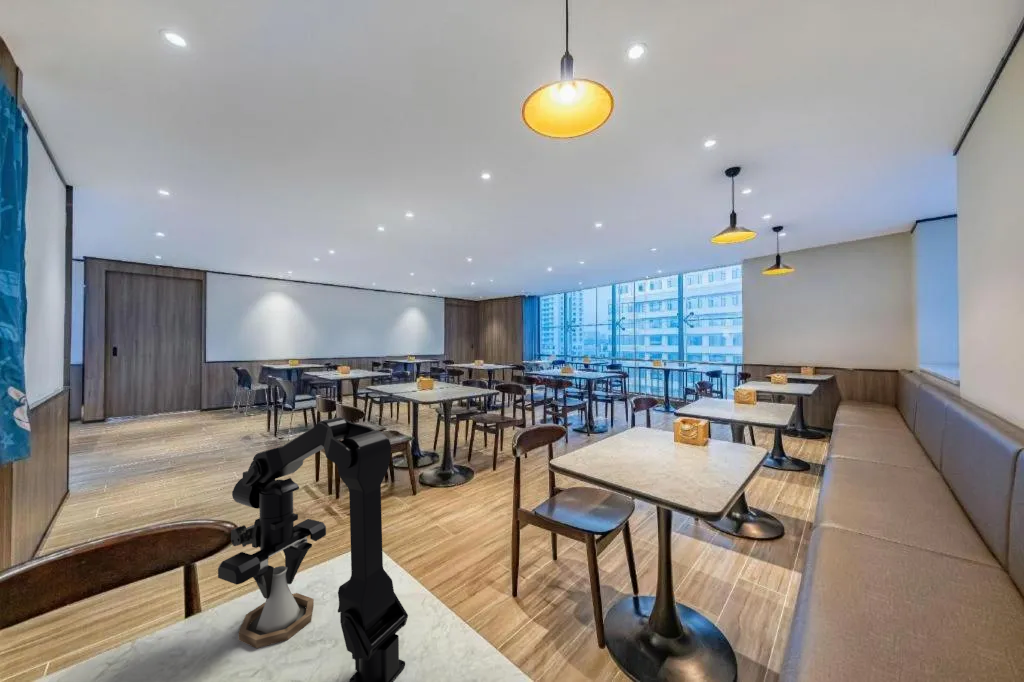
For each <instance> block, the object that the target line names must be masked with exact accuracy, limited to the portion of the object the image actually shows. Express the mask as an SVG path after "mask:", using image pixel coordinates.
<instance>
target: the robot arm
mask: <svg viewBox="0 0 1024 682" xmlns="http://www.w3.org/2000/svg"><path fill="white" fill-rule="evenodd" d="M322 450H324V454H325V457H326V459H328V460H329V461H331V462H332V463H334V464H335V465H336V466H337V472H338V473H337V474H338V477H339V478H340V479H341V480H342V482H343V483H344V484H345V486H346V487H347V488H348V491H349V524H350V525H349V529H350V530H349V531H350V566H351V567H350V568H351V571H350V572H351V573H350V575H351V576H350V578H349V580H347V581H345V582H344V583H342V584H341V585H340V586H339V587H338V591H337V594H338V595H337V596H338V609H337V613H339V615H340V617H339V618H340V621H339V622H340V627H341V630H342V634H343V639H344V643H345V647H346V651H347V652H349V653H351V659H352V660H354V661H355V662H354V666H355V673H354V674H353V675H352V676H351V677H350V678H349V679H348V680H349V682H394V680H395V679H396V678H397V677H398V676H399V674H400V673H401V671H402V670H403V669H404V668H405V667H406V661H405V660H402V659H400V652H399V651H400V650H399V649H400V648H399V644H400V643H399V642H400V641H399V639H400V637H399V634H396V633H398V632H399V631H400V629H402V628H403V627H405V626H406V625H407V621H408V617H409V615H408V613H407V611H406V609H405V608H404V606H403V604H402V603H401V601H400V600H399V598H398V597H397V596H398V595H397V594H396V593H395V590H394V583H393V579H392V578H391V576H390V575H389V574H388V573H387V571H386V570H385V569H384V561H383V559H384V558H383V557H384V555H383V525H382V524H383V522H382V518H383V517H382V493H381V492H382V483H383V481H384V479H385V476H386V474H387V472H388V470H389V468H390V463H391V462H390V461H391V452H392V445H391V441H390V438H388V437H387V436H386V434H385V433H384V432H382V431H381V430H380V431H379V430H375V429H374V428H373V427H371V426H367V425H363V424H360V423H354V422H352V421H350V420H349V419H347V418H344V417H339V416H338V417H334V418H329V419H326V420H321V421H318V423H315V425H314V426H313V427H312V428H310V429H308V430H307V431H305V432H303V433H301V434H300V435H299V436H297V437H295V438H293V439H292V440H290V441H289V442H286V443H285V444H284V445H282V446H279V447H274V448H271V449H268V450H263V451H260V452H257V453H256V454H254V456H253V458H252V460H251V463H250V464H249V465H250V466H249V467H248V469H247V470H246V471H243V472H242V478H241V479H239V480H238V481H237V482H236V484H235V485H234V487H233V489H232V492H231V495H232V496H231V497H232V499H233V501H235V502H236V503H237V504H240V505H243V506H247V507H250V508H253V509H259V518H257V519H254V520H255V521H254V522H253V523H254V524H252V525H250V526H248V527H247V526H246V525H242V526H238V527H235V528H233V529H231V531H230V541H231V544H232V546H233V547H236V546H242V548H245V547H246V546H247V545H251V547H252V548H254V549H257V548H259V550H258V551H256V552H253V553H252V554H250V553H246V552H243V551H241V552H239V553H236V554H235V555H232V556H230V557H228V558H226V559H224V560H222V562H221V563H220V564H219V566H218V568H217V578H218V579H220V580H223V581H226V582H228V583H231V584H234V585H239V584H244V583H245V582H246V581H248V580H250V579H252V578H253V580H254V581H255V584H256V585H257V587H258V589H259V591H260V593H261V595H262V597H263V598H264V599H265V600H266V599H268V598H269V597H270V593H271V587H272V578H273V570H274V568H275V567H274V566H271V565H269V558H270V557H272V556H274V555H276V554H279V553H280V552H282V551H283V554H284V556H285V557H284V563H285V564H284V566H285V567H288V569H287V571H286V579H287V584H288V585H291V584H292V583H293V581H294V579H295V577H296V575H297V573H298V571H299V569H300V566H302V565H301V564H302V562H303V560H304V559H305V557H306V555H307V553H308V551H309V549H311V548H312V547H313V544H312V543H311V542H308V537H310V540H312V541H314V542H317V541H319V540H320V539H323V538H325V536H327V526H326V525H325V523H324V522H323V521H319V520H315V519H312V518H311V519H310V518H307V519H305V520H303V521H301V522H299V523H297V524H294V522H295V521H297V520H299V514H298V513H294V492H296V491H298V490H299V489H300V486H299V485H298V483H296V482H295V481H294V480H293V478H291V477H289V478H286V479H279V478H282V477H285V476H289V475H292V474H294V473H296V472H297V471H298V470H299V469H300V468H301V467H303V464H304V461H305V460H306V459H308V458H309V457H311V456H313V455H315V454H316V453H318V452H320V451H322Z"/></svg>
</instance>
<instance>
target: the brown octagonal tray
mask: <svg viewBox="0 0 1024 682" xmlns="http://www.w3.org/2000/svg"><path fill="white" fill-rule="evenodd" d="M292 595H293V597H294V599H295V601H296V603H297V605H298V607H299V609H300V611H299V614H298V617H297V620H295V621H294V622H293V623H292V624H290V625H289V626H288V627H287V628H285V629H283V630H280V631H275V632H271V633H264V632H261V631H258V630H256V628H257V625H258V622H259V619H260V617H261V614H262V611H263V608H264V605H265V602H263V603H261V604H260V605H259V606H257V607H255V608H254V609H252V610H250V611H249V612H248V613H246V614H245V615H244V619H243V621H242V623H241V625H240V628H239V631H238V641H239V642H242V643H244V644H246V645H249V646H250V647H253V648H255V649H259V648H264V647H267V646H270V645H274V644H277V643H281V642H285V641H288V640H290V639H291V638H292V637H294V636H295V635H296V634H298V633H299V632H300V631H301V630H302V629H303V628H305V627H306V626H308V625H309V624H310V623H312V618H313V611H314V606H315V605H314V603H315V602H314V600H315V599H314V598H312V597H309V596H308V595H305V594H301V593H298V592H295V593H292Z"/></svg>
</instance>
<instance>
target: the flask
mask: <svg viewBox="0 0 1024 682" xmlns="http://www.w3.org/2000/svg"><path fill="white" fill-rule="evenodd" d="M287 569H288V567H285V565H280V566H275V567H274V570H273V578H272V587H271V593H270V597H269V598H268V599H266V598H265V602H264V603H265V605H264V608H263V611H262V614H261V617H260V619H259V622H258V625H257V628H256V630H258V631H261V632H264V633H271V632H275V631H280V630H283V629H285V628H287V627H288V626H289V625H290V624H292V623H293V622H294V621H295V620H297V617H298V614H299V611H300V609H299V607H298V605H297V603H296V601H295V599H294V597H293V595H292V594H293V593H292V591H291V589H290V588H289V587H290V586H289V584H287V579H286V571H287Z"/></svg>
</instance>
